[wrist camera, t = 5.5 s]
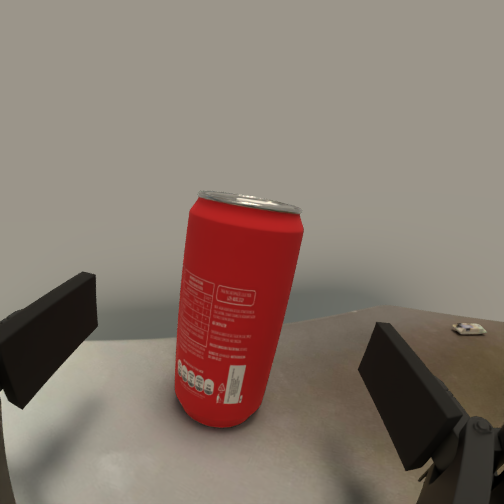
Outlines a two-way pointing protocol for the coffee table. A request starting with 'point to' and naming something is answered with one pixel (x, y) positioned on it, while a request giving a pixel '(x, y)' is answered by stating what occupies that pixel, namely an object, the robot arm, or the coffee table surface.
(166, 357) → the coffee table surface
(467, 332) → the granola bar
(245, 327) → the beverage can
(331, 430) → the coffee table surface
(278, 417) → the coffee table surface
